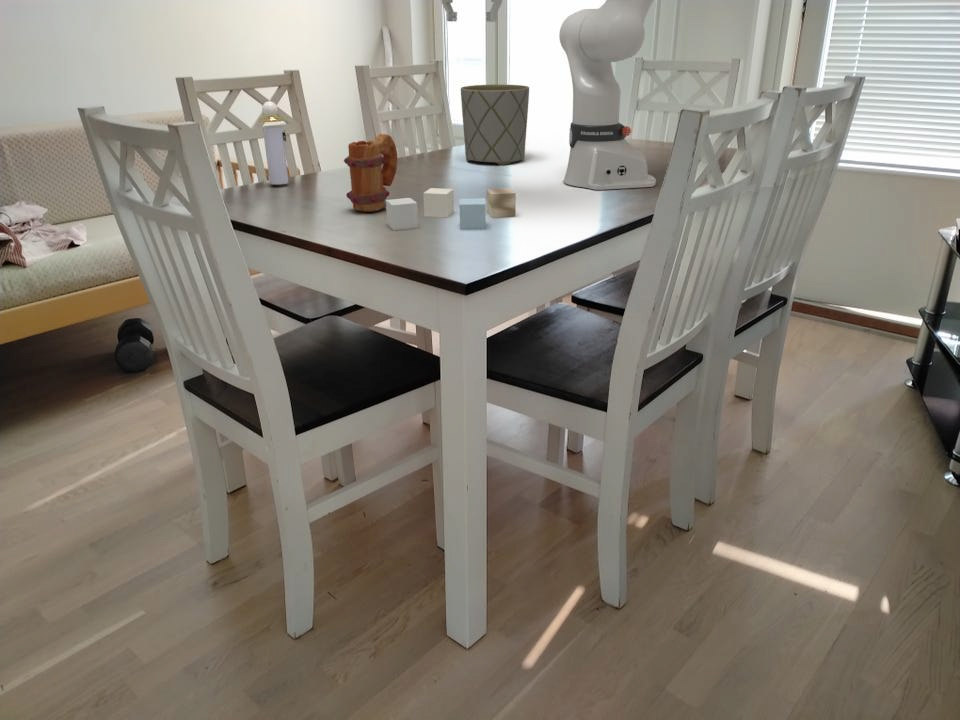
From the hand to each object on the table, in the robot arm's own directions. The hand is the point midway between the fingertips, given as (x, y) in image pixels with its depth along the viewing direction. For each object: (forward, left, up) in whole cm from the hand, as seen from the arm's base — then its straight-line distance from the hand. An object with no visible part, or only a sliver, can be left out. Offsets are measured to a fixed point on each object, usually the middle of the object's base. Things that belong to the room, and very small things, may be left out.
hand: (471, 21), depth 150 cm
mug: (+21, +5, -37) cm, 43 cm away
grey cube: (+14, +21, -37) cm, 45 cm away
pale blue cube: (0, +22, -37) cm, 43 cm away
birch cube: (-6, +13, -37) cm, 40 cm away
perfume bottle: (+48, -20, -37) cm, 64 cm away
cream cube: (+7, +12, -37) cm, 39 cm away
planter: (-7, -51, -37) cm, 63 cm away
